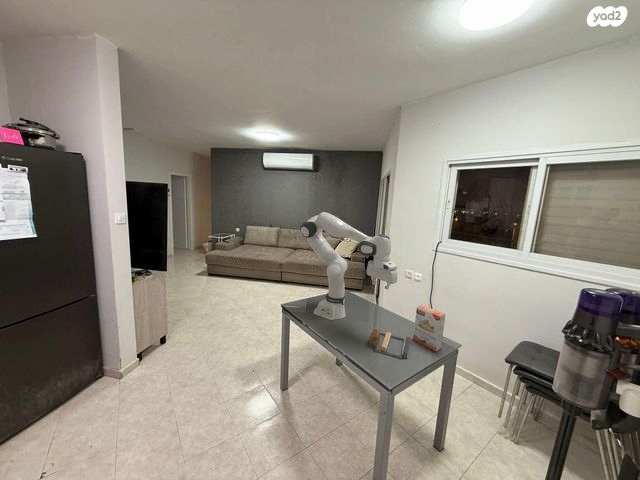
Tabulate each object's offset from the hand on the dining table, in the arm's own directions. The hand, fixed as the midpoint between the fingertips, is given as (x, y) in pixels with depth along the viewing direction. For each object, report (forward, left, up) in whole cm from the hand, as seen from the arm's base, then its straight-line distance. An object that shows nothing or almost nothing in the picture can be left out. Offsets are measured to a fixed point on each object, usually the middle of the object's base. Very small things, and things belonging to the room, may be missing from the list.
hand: (380, 286), depth 141 cm
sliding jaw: (+6, -6, -31) cm, 32 cm away
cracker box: (+27, +5, -31) cm, 42 cm away
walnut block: (0, -8, -31) cm, 32 cm away
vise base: (+10, -6, -31) cm, 33 cm away
